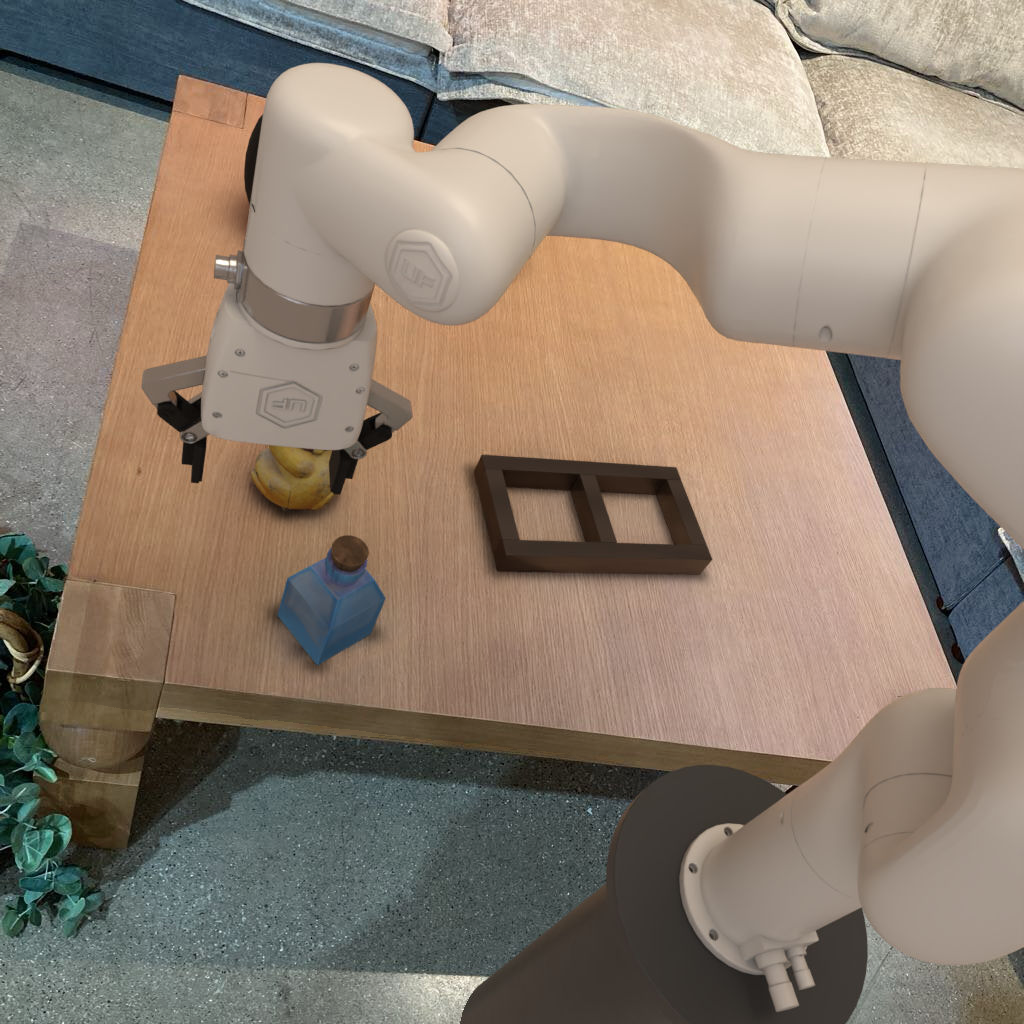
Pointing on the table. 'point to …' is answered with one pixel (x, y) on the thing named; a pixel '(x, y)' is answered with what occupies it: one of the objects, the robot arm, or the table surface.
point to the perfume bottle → (332, 600)
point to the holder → (589, 517)
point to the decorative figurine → (294, 477)
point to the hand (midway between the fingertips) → (267, 473)
